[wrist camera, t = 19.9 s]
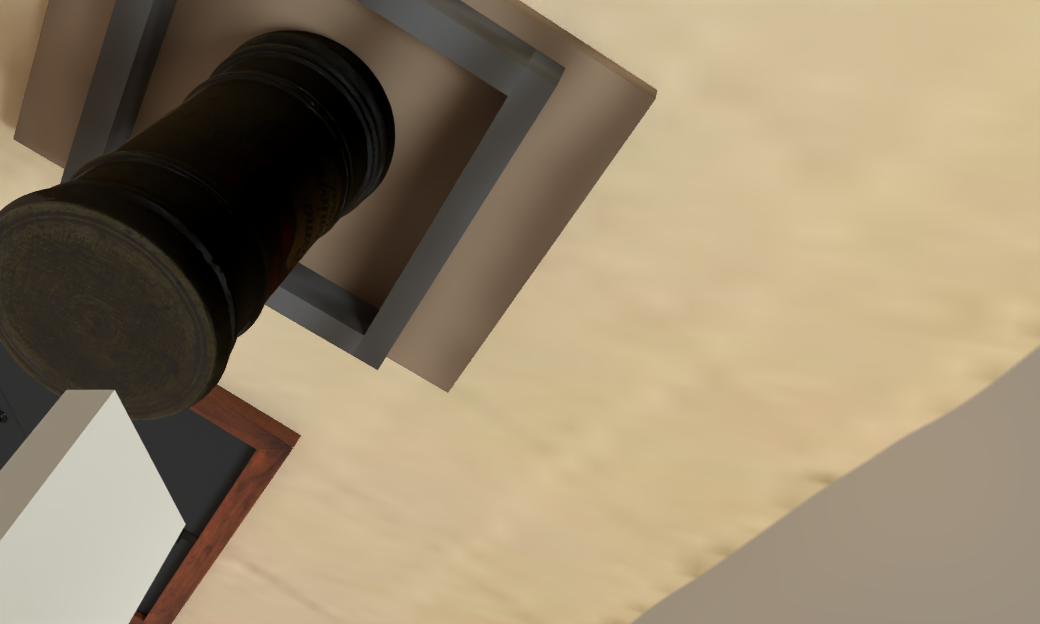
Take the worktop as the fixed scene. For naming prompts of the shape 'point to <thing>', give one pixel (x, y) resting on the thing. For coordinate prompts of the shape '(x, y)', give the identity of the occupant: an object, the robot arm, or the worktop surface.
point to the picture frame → (176, 473)
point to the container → (191, 224)
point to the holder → (416, 159)
